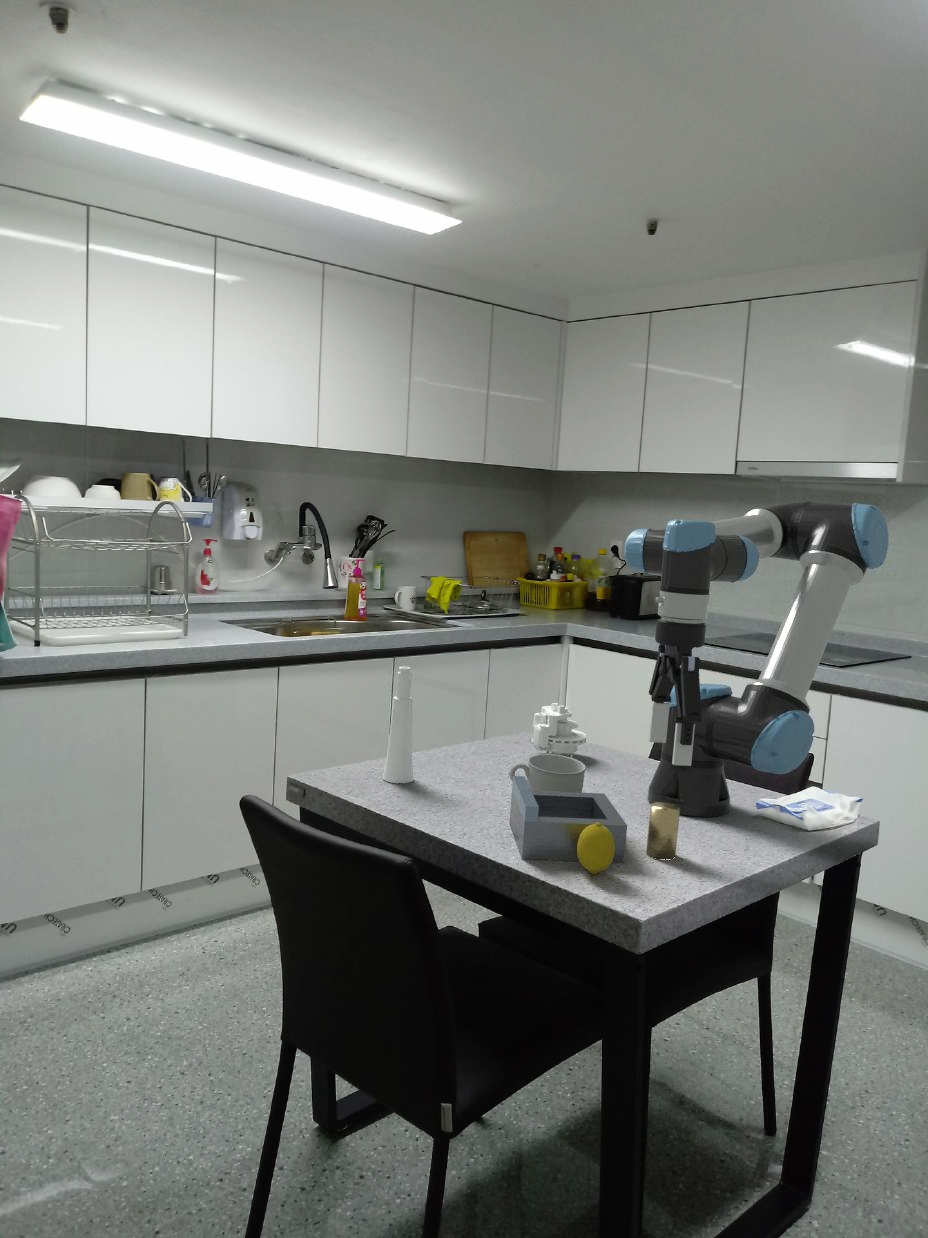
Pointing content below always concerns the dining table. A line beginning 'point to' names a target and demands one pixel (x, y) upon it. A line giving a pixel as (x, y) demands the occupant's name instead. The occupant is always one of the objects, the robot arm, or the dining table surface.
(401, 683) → the cosmetic bottle
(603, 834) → the lemon
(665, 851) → the brass cylinder
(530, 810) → the jig
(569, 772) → the teacup
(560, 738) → the mechanical part
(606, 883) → the dining table surface
